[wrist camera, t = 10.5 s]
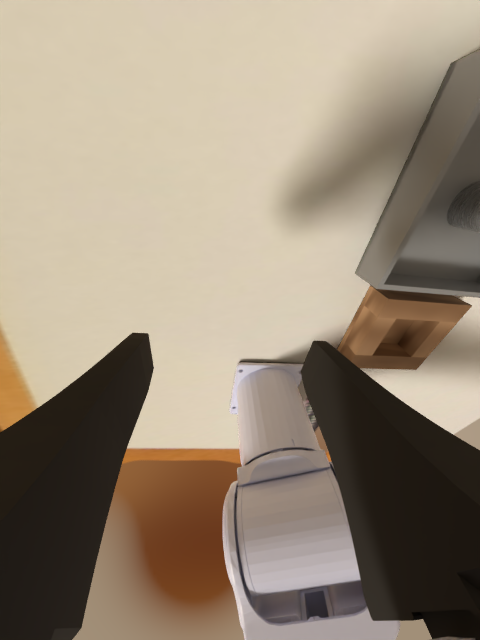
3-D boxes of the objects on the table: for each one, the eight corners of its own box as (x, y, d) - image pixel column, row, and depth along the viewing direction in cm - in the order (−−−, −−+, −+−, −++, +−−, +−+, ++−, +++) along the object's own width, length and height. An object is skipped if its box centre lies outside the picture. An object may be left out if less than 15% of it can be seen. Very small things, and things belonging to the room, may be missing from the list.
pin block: (399, 353, 24) (416, 369, 22) (336, 350, 23) (347, 367, 21) (446, 292, 20) (472, 305, 18) (370, 285, 19) (388, 299, 17)
